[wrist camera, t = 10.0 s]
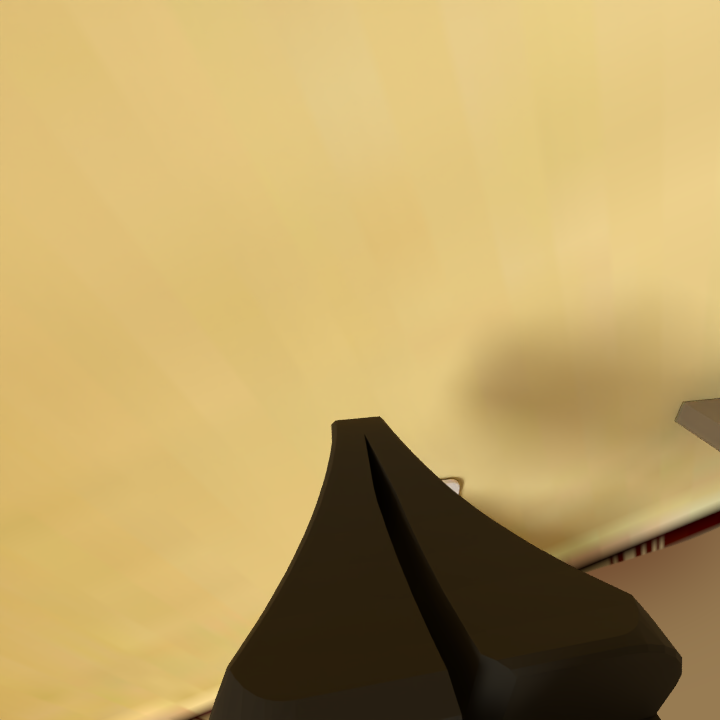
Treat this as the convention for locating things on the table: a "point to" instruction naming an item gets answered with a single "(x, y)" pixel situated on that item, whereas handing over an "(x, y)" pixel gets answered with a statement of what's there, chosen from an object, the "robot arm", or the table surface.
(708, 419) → the bay
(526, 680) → the robot arm
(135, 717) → the table surface
